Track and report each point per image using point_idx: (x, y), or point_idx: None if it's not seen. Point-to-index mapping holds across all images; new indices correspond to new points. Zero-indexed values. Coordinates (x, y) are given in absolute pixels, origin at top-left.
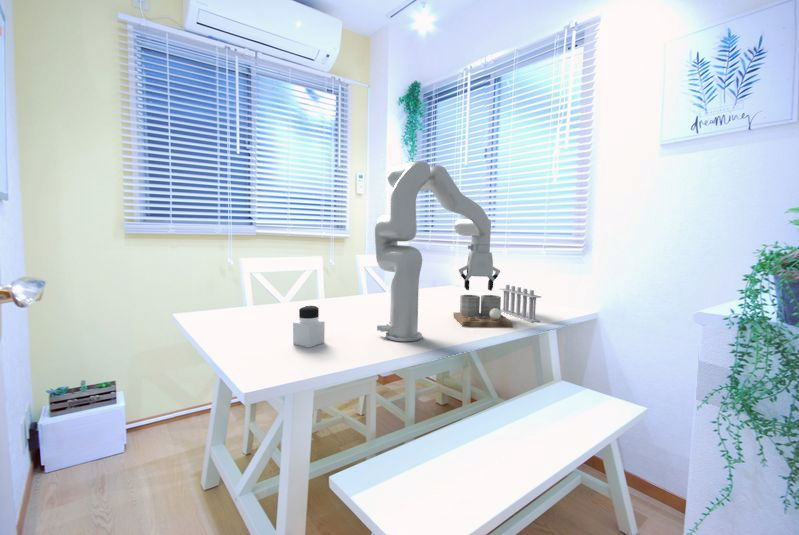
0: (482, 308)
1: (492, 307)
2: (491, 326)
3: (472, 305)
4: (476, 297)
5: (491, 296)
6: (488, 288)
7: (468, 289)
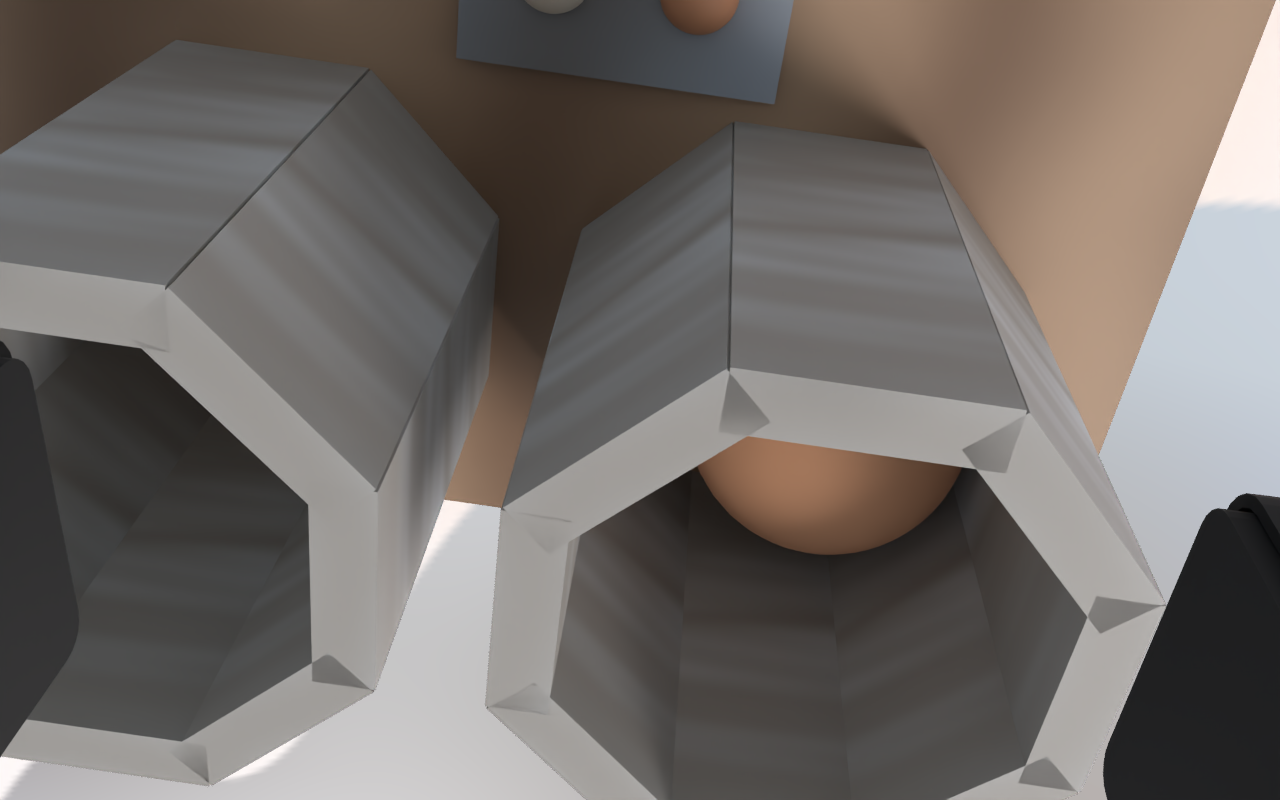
0: (463, 318)
1: (198, 138)
2: None
3: (837, 256)
4: (694, 397)
5: None
6: (43, 610)
7: (1270, 500)
